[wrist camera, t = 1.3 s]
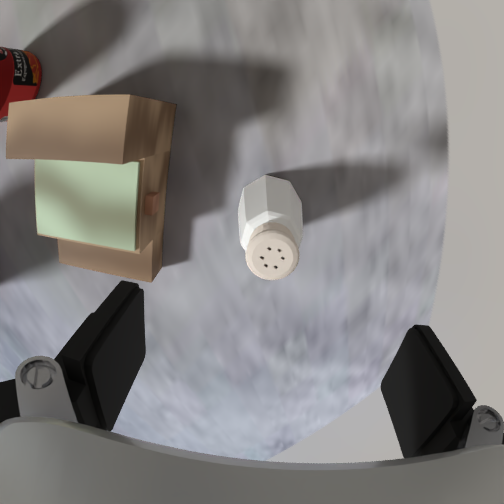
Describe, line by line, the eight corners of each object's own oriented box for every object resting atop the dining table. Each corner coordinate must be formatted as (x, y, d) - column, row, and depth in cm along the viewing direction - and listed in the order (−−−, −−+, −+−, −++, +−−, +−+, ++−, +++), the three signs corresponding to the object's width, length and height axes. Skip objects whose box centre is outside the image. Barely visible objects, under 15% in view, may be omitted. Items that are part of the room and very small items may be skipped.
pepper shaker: (263, 161, 25) (262, 184, 15) (314, 200, 26) (345, 248, 16) (225, 212, 27) (200, 266, 16) (275, 247, 28) (280, 319, 17)
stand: (77, 102, 23) (9, 102, 14) (183, 104, 23) (139, 94, 14) (74, 250, 29) (20, 295, 20) (167, 268, 29) (131, 327, 20)
